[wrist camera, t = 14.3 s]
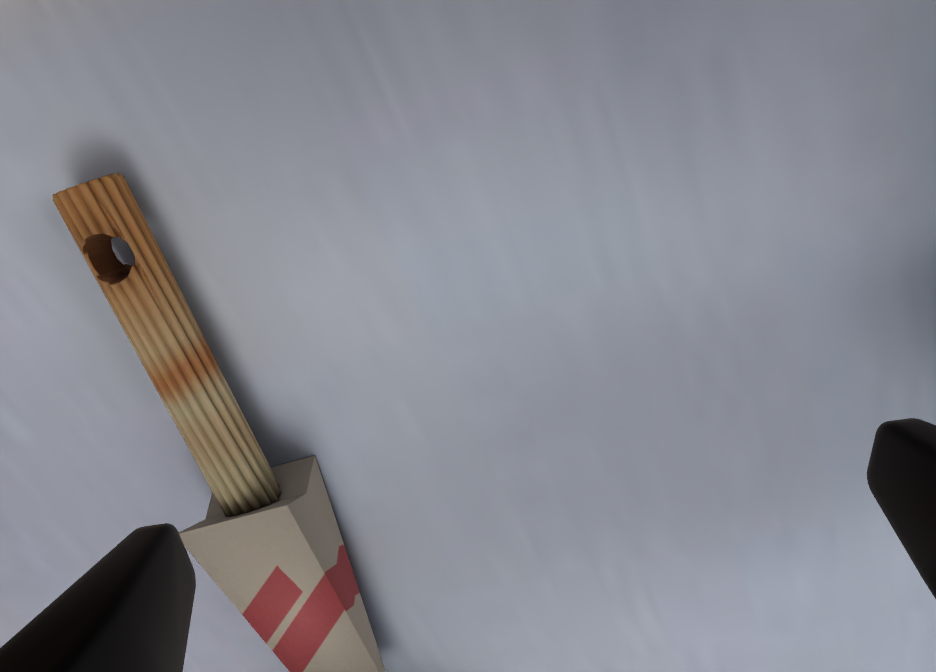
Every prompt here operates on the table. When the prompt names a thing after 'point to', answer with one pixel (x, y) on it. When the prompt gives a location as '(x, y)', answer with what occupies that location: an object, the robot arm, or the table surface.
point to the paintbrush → (229, 457)
